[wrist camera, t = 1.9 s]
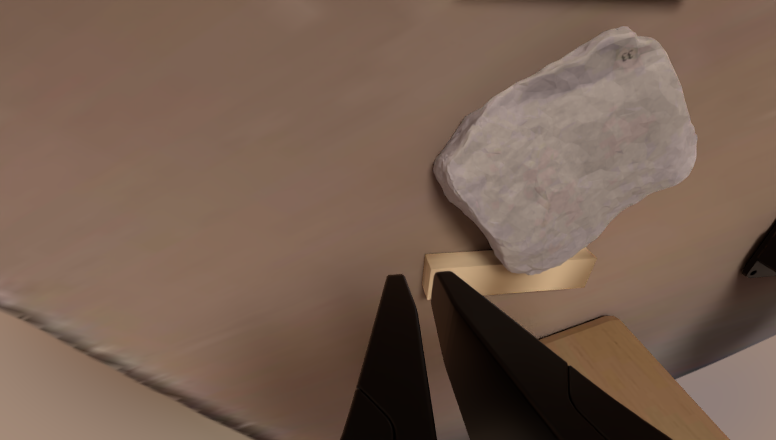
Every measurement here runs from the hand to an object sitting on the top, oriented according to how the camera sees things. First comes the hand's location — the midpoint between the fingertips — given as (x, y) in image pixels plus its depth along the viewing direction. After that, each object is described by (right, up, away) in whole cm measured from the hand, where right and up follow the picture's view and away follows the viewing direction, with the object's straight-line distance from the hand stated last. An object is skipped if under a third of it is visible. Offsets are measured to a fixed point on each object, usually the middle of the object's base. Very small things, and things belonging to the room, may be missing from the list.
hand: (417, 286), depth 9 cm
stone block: (+8, +6, +11) cm, 15 cm away
